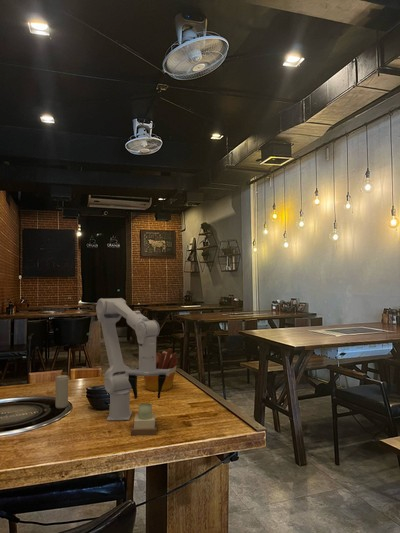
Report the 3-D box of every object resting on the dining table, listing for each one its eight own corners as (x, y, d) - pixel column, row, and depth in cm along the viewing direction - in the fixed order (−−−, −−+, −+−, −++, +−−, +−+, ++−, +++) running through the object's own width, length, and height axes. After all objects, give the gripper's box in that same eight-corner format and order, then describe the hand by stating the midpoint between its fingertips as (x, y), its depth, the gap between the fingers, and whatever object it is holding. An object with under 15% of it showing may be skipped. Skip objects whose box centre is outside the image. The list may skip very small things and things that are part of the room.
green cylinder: (139, 415, 133) (139, 403, 133) (152, 415, 133) (152, 403, 133) (137, 419, 128) (137, 407, 128) (151, 419, 128) (151, 407, 129)
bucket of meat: (133, 387, 188) (133, 345, 189) (163, 382, 198) (163, 342, 199) (155, 396, 172) (155, 350, 173) (186, 390, 182) (186, 346, 183)
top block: (135, 422, 134) (136, 414, 134) (155, 421, 134) (155, 414, 134) (134, 428, 127) (134, 420, 127) (154, 428, 128) (154, 420, 128)
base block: (133, 429, 134) (134, 421, 134) (157, 428, 134) (157, 421, 135) (131, 437, 126) (131, 429, 126) (156, 437, 126) (156, 429, 127)
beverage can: (69, 404, 160) (69, 375, 161) (65, 408, 155) (66, 377, 156) (57, 405, 160) (57, 375, 161) (53, 408, 155) (53, 377, 156)
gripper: (124, 359, 128) (123, 401, 128) (168, 358, 129) (168, 400, 128) (126, 355, 136) (126, 395, 135) (169, 355, 136) (169, 395, 136)
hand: (147, 397), depth 132 cm, fingers open, 7 cm apart
